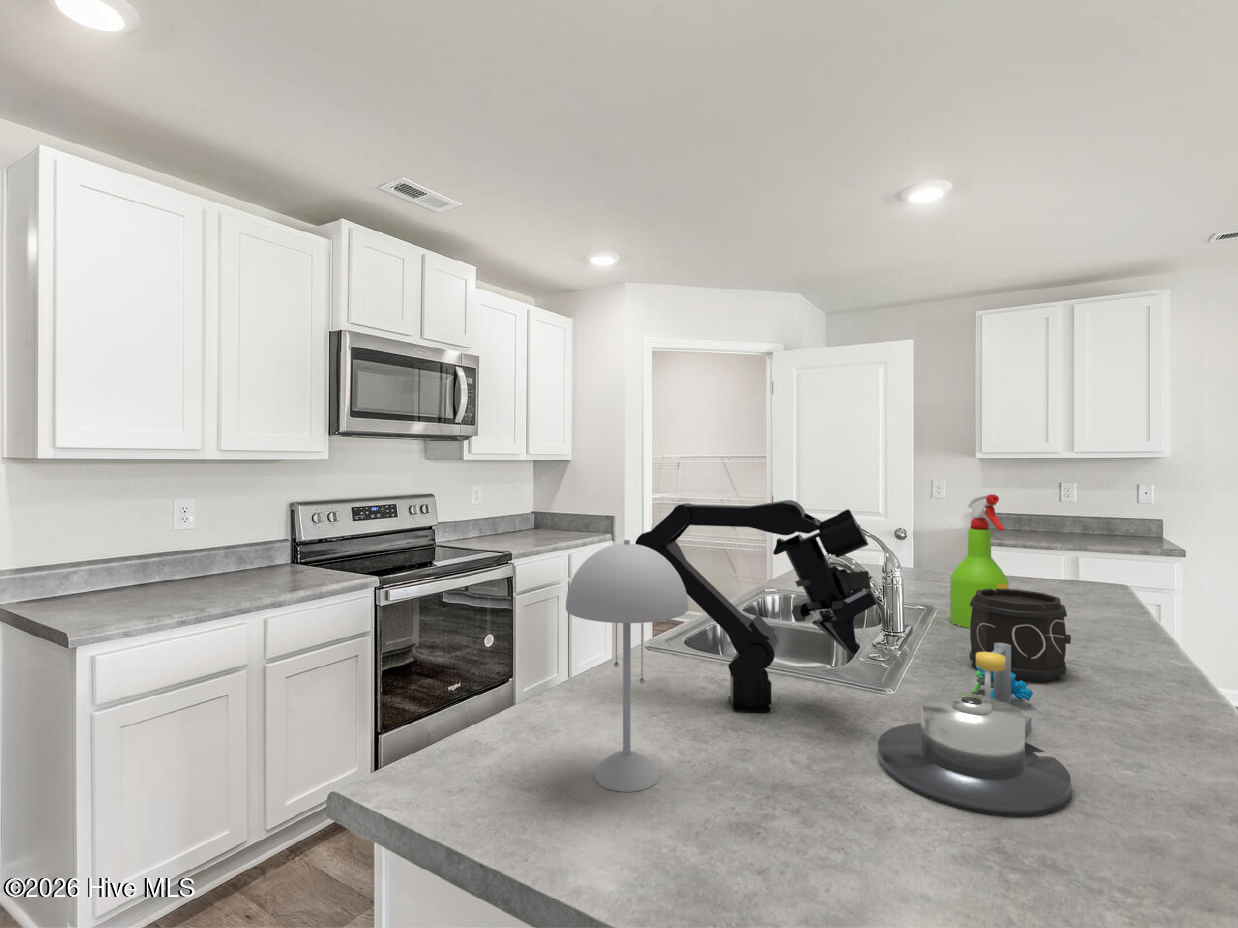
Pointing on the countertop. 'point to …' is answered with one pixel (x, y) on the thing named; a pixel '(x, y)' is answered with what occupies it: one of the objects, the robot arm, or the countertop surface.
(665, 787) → the countertop surface
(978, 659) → the gauge stand
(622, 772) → the lamp
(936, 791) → the turntable
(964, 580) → the spray bottle
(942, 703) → the cover
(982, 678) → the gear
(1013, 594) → the wooden barrel
